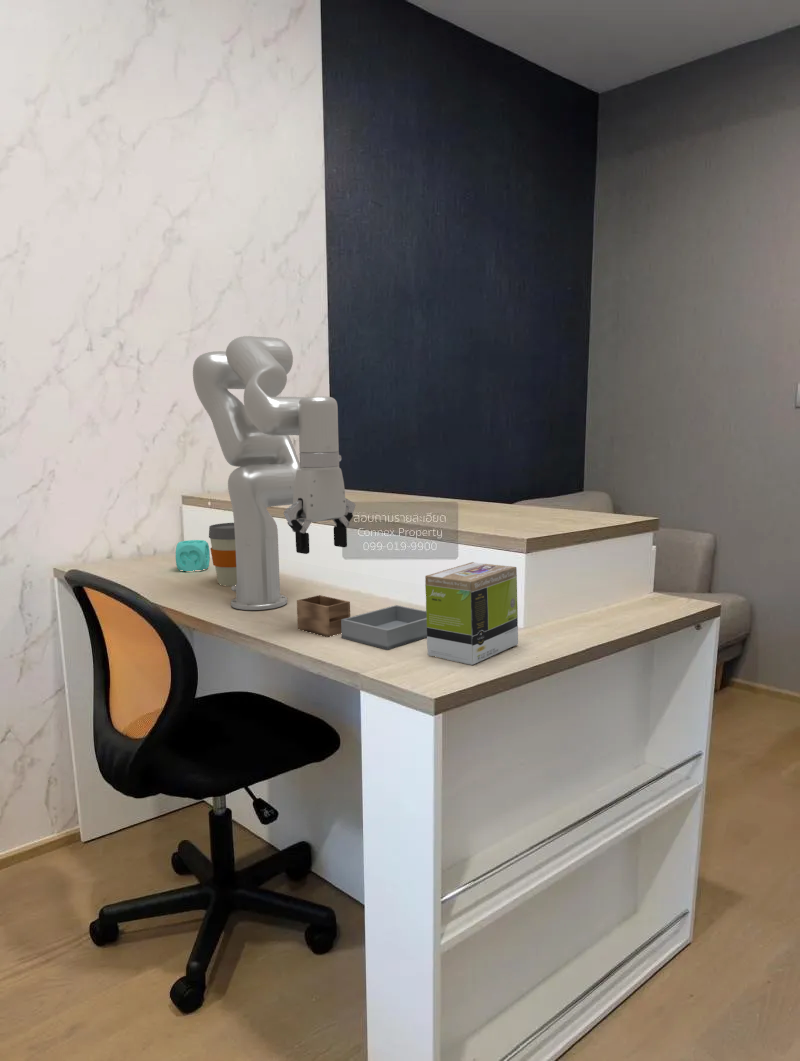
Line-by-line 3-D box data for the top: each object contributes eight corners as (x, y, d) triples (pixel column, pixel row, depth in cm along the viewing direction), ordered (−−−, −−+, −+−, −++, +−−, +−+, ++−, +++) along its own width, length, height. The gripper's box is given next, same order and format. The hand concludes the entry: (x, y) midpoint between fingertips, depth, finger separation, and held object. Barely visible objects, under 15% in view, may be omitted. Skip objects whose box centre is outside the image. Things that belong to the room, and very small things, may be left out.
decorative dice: (182, 567, 223) (181, 540, 222) (210, 566, 223) (209, 539, 222) (176, 572, 215) (174, 544, 214) (205, 572, 215) (203, 543, 214)
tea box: (473, 637, 146) (473, 560, 144) (519, 646, 139) (519, 565, 137) (425, 656, 134) (423, 573, 132) (472, 667, 128) (472, 579, 126)
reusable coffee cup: (266, 577, 205) (263, 522, 203) (252, 587, 193) (249, 528, 191) (220, 577, 207) (217, 522, 205) (204, 587, 194) (200, 528, 192)
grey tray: (341, 637, 146) (341, 619, 146) (396, 622, 157) (396, 605, 157) (387, 650, 138) (387, 630, 138) (442, 632, 149) (442, 614, 148)
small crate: (297, 629, 153) (296, 600, 152) (320, 623, 157) (319, 595, 157) (327, 637, 147) (326, 607, 146) (350, 631, 151) (350, 601, 150)
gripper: (339, 459, 156) (341, 542, 159) (271, 463, 144) (274, 553, 146) (365, 460, 151) (367, 546, 154) (296, 464, 139) (300, 558, 141)
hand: (322, 549), depth 150 cm, fingers open, 9 cm apart
